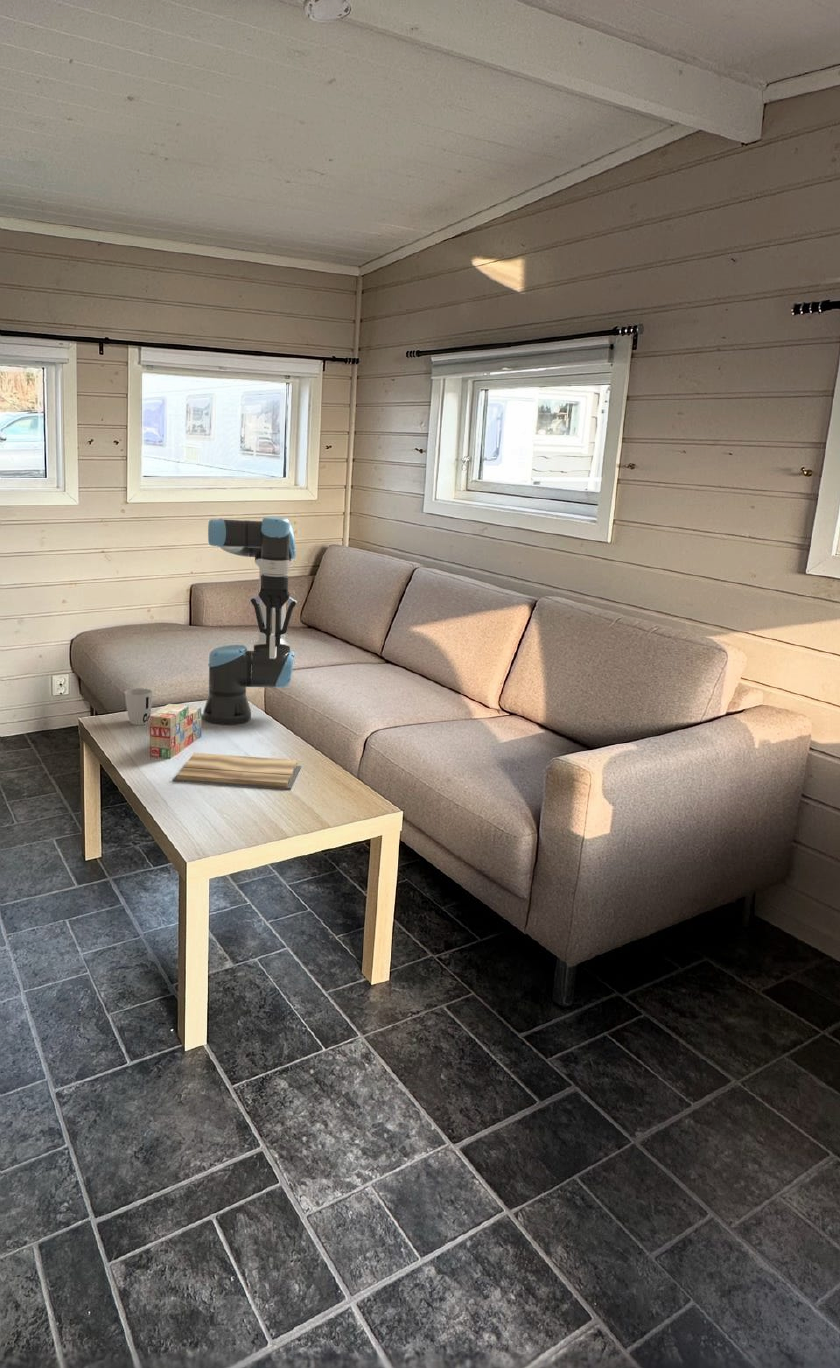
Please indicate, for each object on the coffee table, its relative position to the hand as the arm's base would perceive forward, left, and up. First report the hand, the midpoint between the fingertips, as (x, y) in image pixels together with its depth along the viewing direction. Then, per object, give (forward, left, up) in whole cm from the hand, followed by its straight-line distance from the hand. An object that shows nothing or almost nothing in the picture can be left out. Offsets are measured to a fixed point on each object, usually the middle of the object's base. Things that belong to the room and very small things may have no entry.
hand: (272, 657), depth 257 cm
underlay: (+19, -5, -28) cm, 35 cm away
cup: (-19, -45, -29) cm, 57 cm away
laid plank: (+24, -5, -28) cm, 38 cm away
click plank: (+16, -5, -28) cm, 32 cm away
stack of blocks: (0, -28, -29) cm, 40 cm away
